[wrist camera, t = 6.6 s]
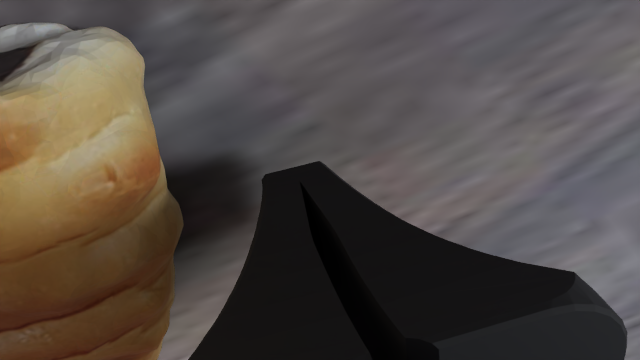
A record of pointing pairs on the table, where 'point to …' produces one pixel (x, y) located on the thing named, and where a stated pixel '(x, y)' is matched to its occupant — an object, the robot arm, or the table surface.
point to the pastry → (81, 200)
